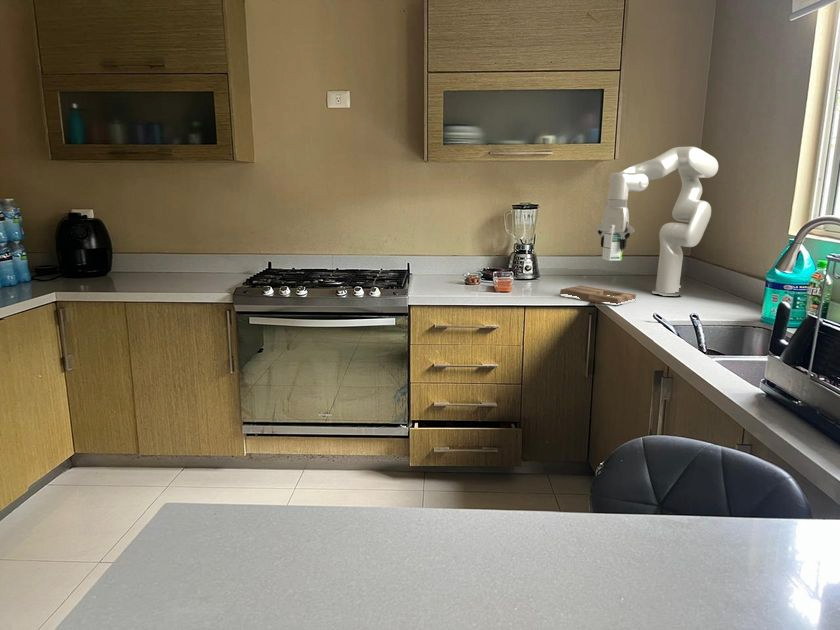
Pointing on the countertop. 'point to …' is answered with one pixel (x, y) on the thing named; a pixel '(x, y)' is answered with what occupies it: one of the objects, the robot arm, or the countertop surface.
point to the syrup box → (612, 245)
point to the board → (598, 294)
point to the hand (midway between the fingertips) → (612, 247)
